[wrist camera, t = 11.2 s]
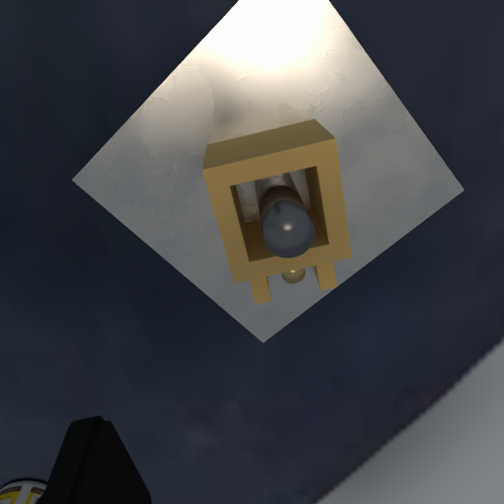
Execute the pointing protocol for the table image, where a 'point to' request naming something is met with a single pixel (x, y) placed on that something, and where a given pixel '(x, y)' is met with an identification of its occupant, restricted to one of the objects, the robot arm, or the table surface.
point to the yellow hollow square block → (250, 234)
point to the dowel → (294, 276)
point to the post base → (254, 100)
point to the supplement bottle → (22, 492)
